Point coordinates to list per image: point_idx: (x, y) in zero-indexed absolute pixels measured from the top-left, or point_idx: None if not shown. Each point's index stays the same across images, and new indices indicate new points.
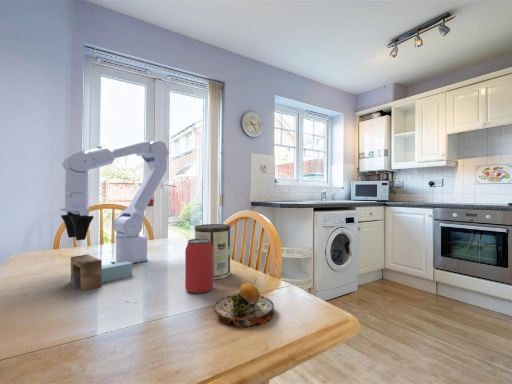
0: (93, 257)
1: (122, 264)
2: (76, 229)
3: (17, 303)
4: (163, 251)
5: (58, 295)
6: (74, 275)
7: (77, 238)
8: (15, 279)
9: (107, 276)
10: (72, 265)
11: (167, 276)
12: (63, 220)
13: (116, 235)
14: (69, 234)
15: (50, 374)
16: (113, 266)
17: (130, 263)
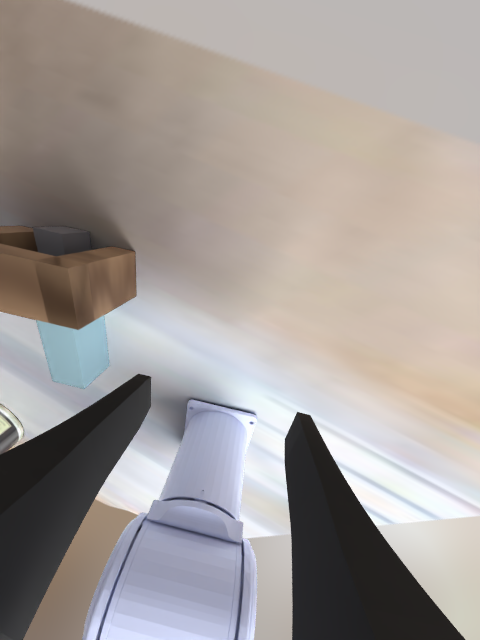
0: (2, 308)
1: (53, 362)
2: (61, 425)
3: (8, 29)
4: (241, 507)
5: (21, 164)
6: (62, 242)
7: (128, 382)
8: (347, 150)
9: None
10: (72, 256)
11: (27, 383)
12: (424, 594)
13: (204, 511)
14: (301, 431)
15: None
16: (43, 338)
17: (51, 376)
